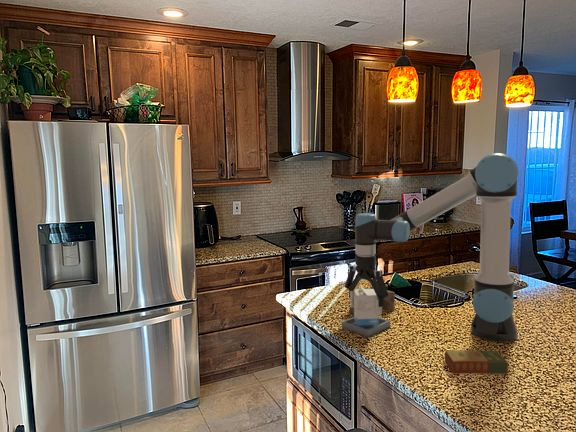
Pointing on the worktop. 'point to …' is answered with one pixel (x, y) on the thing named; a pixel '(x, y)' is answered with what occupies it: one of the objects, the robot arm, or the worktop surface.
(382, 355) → the worktop surface
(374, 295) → the ink box
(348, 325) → the tray
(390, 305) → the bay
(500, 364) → the carton
